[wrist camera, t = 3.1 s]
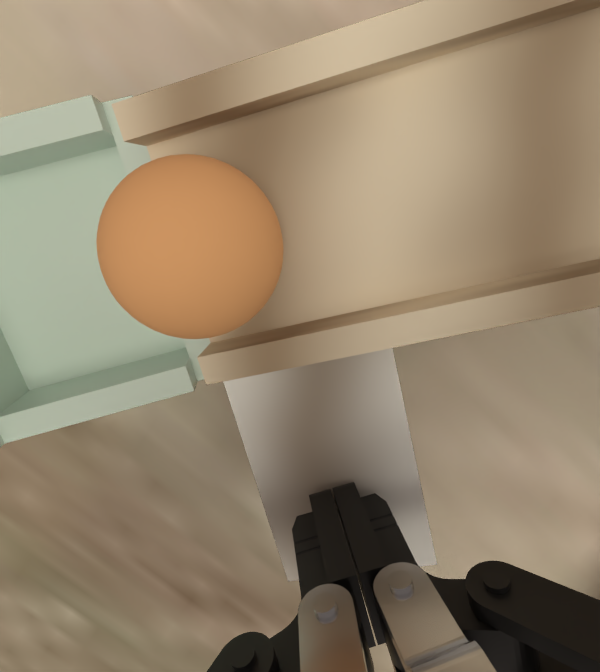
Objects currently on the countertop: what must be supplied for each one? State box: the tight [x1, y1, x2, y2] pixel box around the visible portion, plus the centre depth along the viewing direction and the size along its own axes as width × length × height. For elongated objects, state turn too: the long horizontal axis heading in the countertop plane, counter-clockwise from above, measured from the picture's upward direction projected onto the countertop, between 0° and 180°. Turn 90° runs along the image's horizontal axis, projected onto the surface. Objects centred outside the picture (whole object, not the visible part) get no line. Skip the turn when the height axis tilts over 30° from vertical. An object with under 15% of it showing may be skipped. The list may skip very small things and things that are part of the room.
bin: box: [0, 95, 210, 447], centre depth 15 cm, size 9×10×7 cm
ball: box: [96, 154, 283, 339], centre depth 10 cm, size 4×4×4 cm
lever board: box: [111, 0, 600, 581], centre depth 12 cm, size 20×15×5 cm
